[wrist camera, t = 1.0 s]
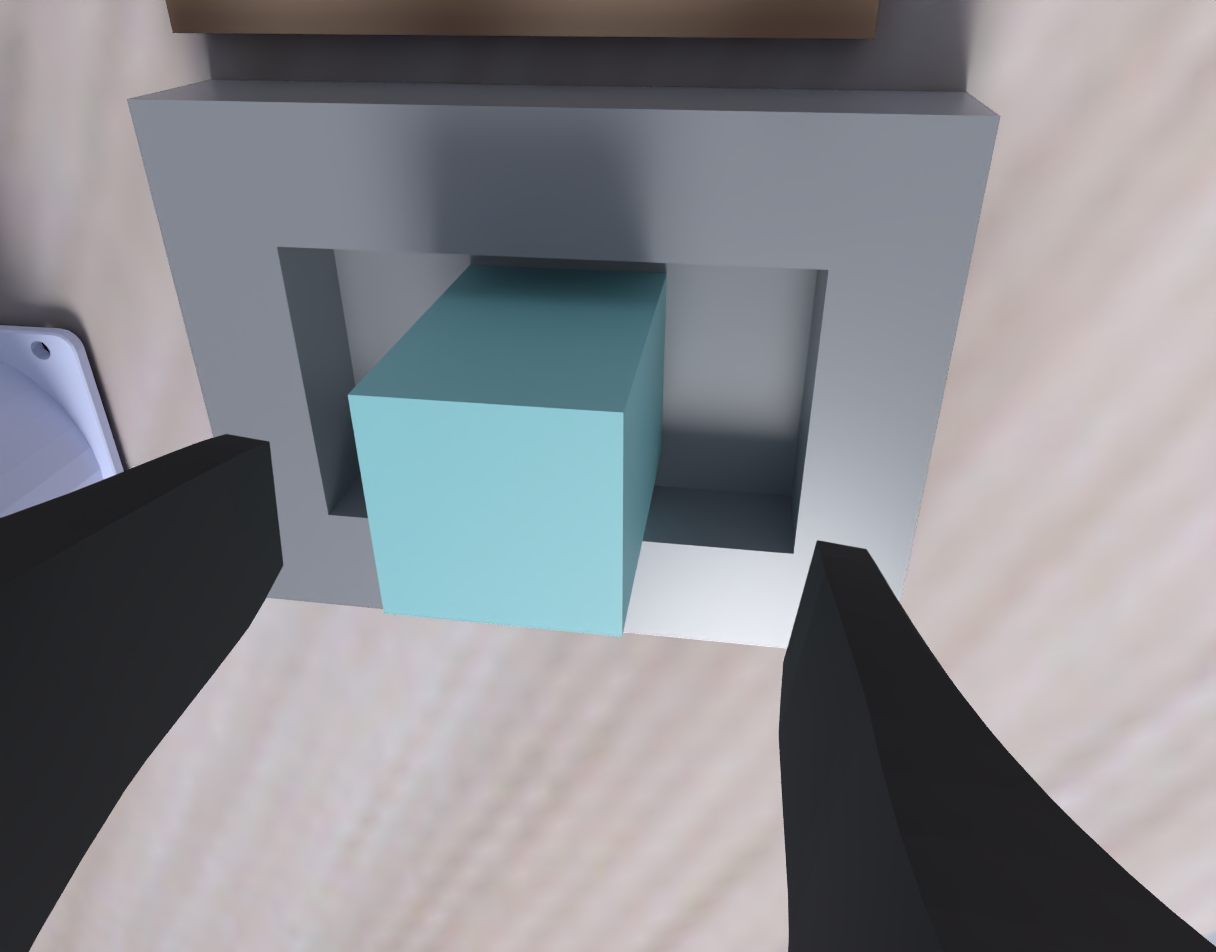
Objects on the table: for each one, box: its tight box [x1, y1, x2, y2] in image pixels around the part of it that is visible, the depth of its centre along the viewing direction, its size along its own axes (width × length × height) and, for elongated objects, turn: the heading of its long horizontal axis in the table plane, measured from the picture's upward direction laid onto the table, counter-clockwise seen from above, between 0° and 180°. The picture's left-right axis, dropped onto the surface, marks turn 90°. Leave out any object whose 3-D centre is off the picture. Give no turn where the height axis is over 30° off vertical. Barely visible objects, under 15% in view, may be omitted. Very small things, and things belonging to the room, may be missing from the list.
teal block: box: [348, 265, 667, 637], centre depth 18 cm, size 4×4×7 cm
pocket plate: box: [127, 80, 1000, 648], centre depth 20 cm, size 16×12×3 cm
